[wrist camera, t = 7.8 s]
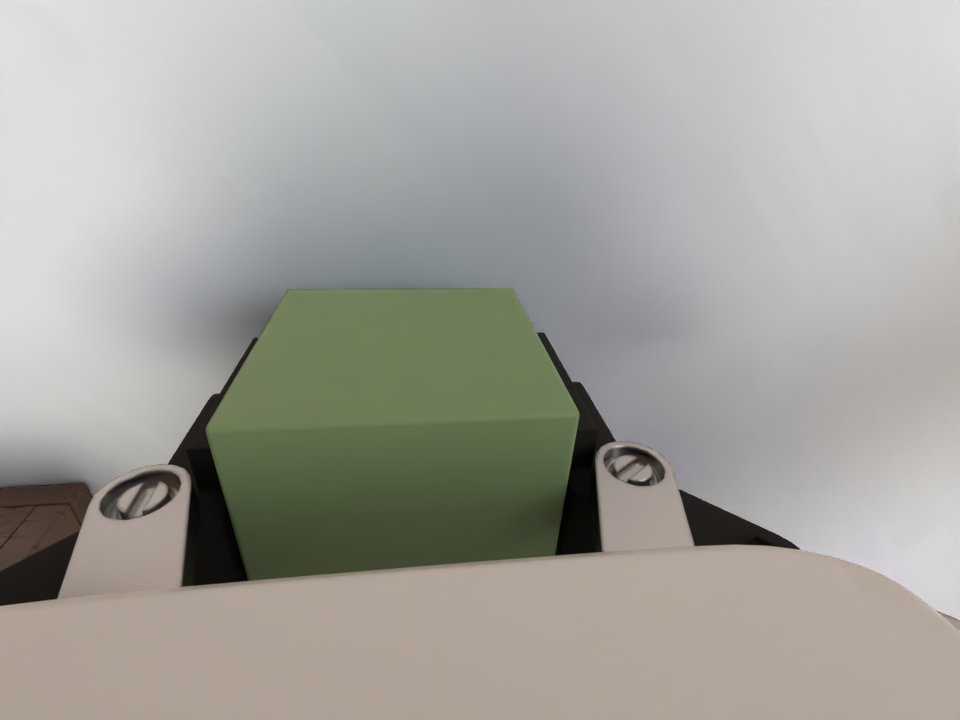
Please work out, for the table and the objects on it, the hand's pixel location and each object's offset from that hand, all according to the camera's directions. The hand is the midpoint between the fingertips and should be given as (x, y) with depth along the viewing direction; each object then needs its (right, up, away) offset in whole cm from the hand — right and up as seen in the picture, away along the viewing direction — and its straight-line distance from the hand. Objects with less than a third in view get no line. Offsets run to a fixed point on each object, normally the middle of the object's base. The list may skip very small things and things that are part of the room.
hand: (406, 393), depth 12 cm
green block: (0, 0, 0) cm, 0 cm away
